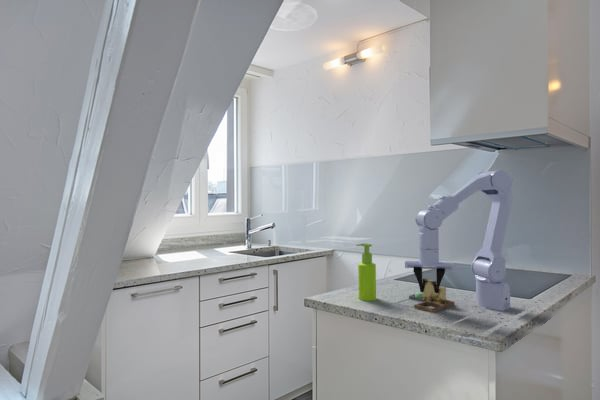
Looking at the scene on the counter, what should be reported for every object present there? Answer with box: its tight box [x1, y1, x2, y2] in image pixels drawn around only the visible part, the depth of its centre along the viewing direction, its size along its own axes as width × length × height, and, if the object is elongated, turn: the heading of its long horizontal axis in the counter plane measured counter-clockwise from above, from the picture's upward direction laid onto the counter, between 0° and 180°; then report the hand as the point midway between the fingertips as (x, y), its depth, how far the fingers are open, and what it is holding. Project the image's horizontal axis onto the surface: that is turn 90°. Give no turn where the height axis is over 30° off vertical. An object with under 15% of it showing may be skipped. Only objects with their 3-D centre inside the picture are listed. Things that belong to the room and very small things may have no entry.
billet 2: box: [433, 285, 447, 304], centre depth 126 cm, size 4×4×7 cm
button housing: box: [408, 293, 424, 303], centre depth 134 cm, size 5×5×2 cm
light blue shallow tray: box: [393, 298, 421, 308], centre depth 128 cm, size 7×8×1 cm
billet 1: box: [422, 277, 437, 302], centre depth 122 cm, size 4×4×7 cm
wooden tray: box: [413, 299, 455, 314], centre depth 124 cm, size 8×13×2 cm, turn 131°
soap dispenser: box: [355, 243, 377, 302], centre depth 135 cm, size 6×7×20 cm
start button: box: [414, 291, 423, 298], centre depth 134 cm, size 3×3×3 cm
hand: (429, 292), depth 122 cm, fingers closed on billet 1, 4 cm apart
